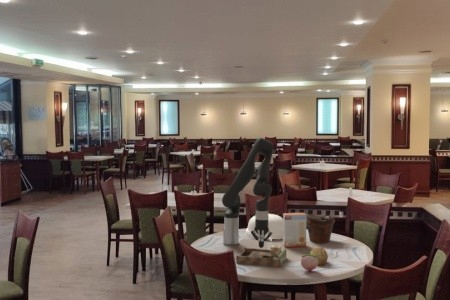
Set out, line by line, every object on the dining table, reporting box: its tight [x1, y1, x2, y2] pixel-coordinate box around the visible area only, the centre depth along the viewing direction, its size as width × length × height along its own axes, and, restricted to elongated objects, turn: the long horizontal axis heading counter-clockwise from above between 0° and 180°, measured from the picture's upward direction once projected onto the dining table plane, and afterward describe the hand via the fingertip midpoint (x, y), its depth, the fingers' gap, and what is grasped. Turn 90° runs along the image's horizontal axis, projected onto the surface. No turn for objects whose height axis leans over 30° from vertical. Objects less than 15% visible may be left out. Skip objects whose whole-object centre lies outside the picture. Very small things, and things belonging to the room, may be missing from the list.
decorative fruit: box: [300, 252, 319, 272], centre depth 265 cm, size 9×8×10 cm
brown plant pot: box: [306, 213, 336, 244], centre depth 328 cm, size 18×20×18 cm
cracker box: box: [282, 212, 307, 248], centre depth 315 cm, size 14×6×21 cm, turn 95°
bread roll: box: [309, 247, 329, 266], centre depth 281 cm, size 10×15×8 cm, turn 3°
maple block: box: [270, 244, 282, 256], centre depth 285 cm, size 5×5×5 cm
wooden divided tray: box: [235, 247, 287, 268], centre depth 284 cm, size 25×18×6 cm
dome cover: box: [244, 213, 283, 241], centre depth 346 cm, size 32×30×14 cm
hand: (261, 247), depth 288 cm, fingers closed
